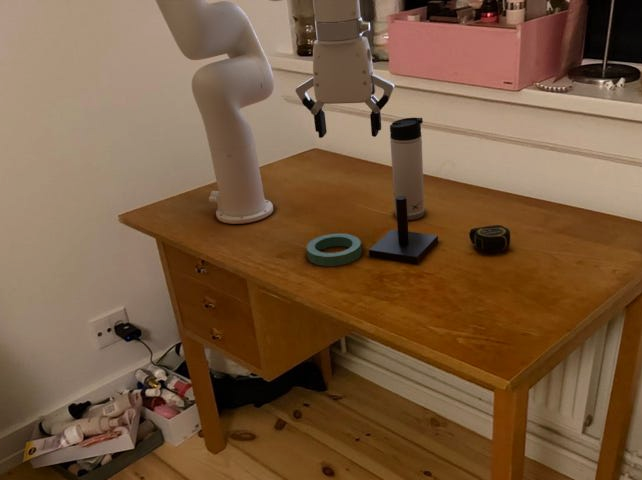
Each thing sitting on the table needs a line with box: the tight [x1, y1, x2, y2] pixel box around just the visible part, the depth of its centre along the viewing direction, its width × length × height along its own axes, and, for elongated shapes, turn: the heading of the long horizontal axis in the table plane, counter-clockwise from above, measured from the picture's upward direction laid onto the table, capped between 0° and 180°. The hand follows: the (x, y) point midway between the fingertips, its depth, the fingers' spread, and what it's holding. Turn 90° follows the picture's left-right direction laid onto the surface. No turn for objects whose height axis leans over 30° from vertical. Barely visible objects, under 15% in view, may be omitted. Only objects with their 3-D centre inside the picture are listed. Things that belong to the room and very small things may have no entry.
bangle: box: [306, 232, 363, 267], centre depth 135 cm, size 10×10×2 cm
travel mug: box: [389, 117, 425, 221], centre depth 144 cm, size 6×7×20 cm
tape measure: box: [468, 224, 511, 253], centre depth 132 cm, size 7×7×4 cm
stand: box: [368, 196, 439, 265], centre depth 132 cm, size 10×10×10 cm
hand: (349, 135), depth 126 cm, fingers open, 9 cm apart
